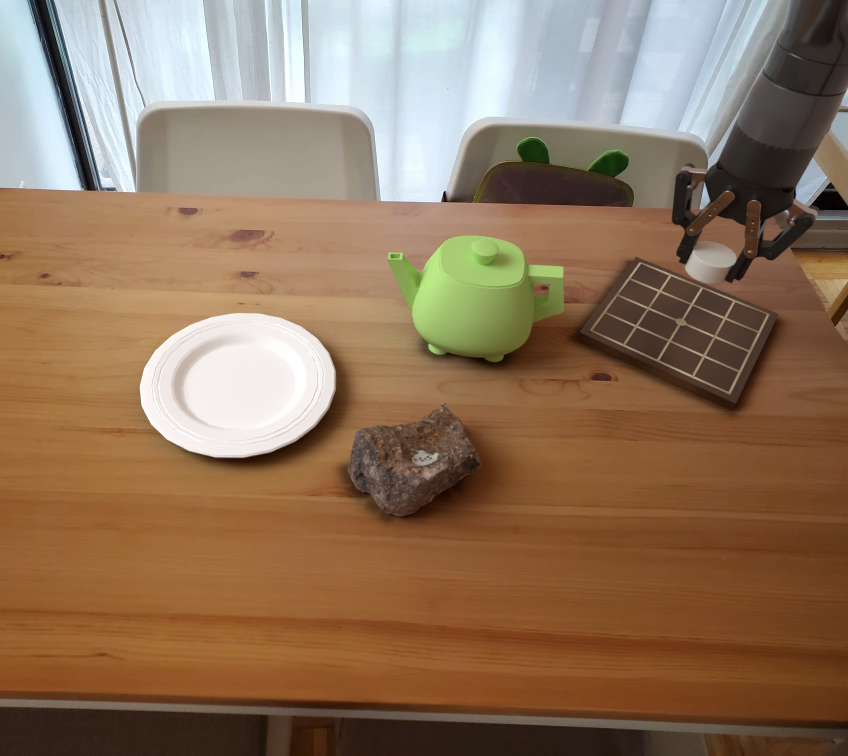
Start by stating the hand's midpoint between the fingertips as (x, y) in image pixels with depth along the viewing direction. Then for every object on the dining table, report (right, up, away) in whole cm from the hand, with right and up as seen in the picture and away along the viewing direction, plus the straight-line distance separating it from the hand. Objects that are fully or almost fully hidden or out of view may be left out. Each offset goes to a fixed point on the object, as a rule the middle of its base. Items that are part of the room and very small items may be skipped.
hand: (707, 268), depth 79 cm
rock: (-33, -21, -8) cm, 40 cm away
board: (0, -6, +7) cm, 9 cm away
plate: (-51, -13, -1) cm, 53 cm away
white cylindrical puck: (0, 0, 0) cm, 0 cm away
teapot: (-26, -7, +6) cm, 27 cm away
